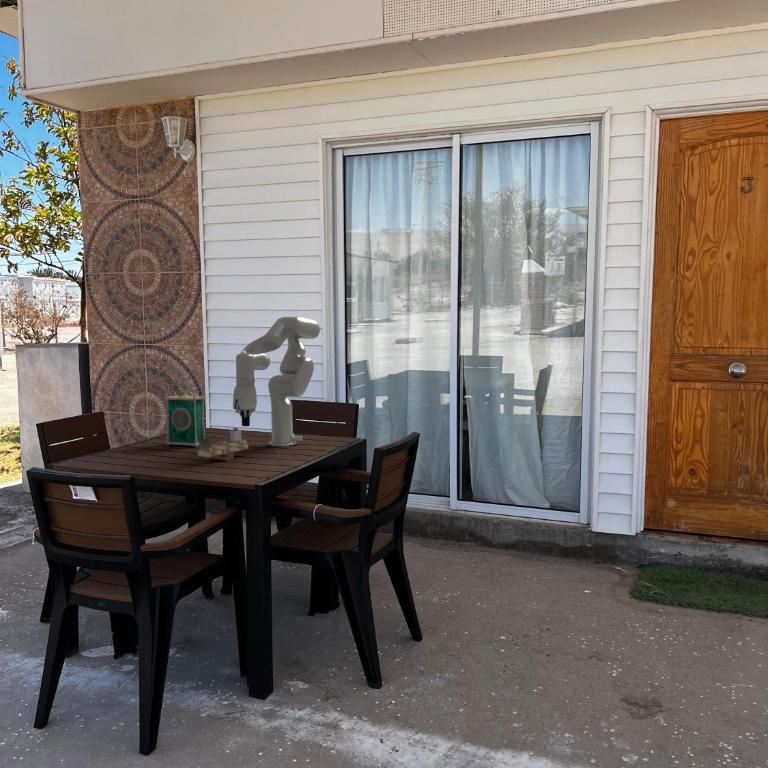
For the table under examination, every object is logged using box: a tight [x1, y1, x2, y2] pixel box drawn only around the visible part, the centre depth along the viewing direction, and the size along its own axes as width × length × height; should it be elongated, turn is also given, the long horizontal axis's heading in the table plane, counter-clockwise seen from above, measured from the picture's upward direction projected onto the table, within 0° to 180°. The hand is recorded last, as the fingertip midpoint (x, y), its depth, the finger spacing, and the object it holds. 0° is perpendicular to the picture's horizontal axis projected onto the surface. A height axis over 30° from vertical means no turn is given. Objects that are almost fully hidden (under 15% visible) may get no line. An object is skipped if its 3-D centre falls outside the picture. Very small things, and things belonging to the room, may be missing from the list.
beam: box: [197, 437, 249, 461], centre depth 312 cm, size 22×7×10 cm, turn 145°
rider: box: [229, 427, 243, 443], centre depth 317 cm, size 4×2×7 cm, turn 145°
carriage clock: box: [163, 379, 207, 448], centre depth 345 cm, size 17×9×30 cm, turn 70°
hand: (245, 425), depth 321 cm, fingers closed
